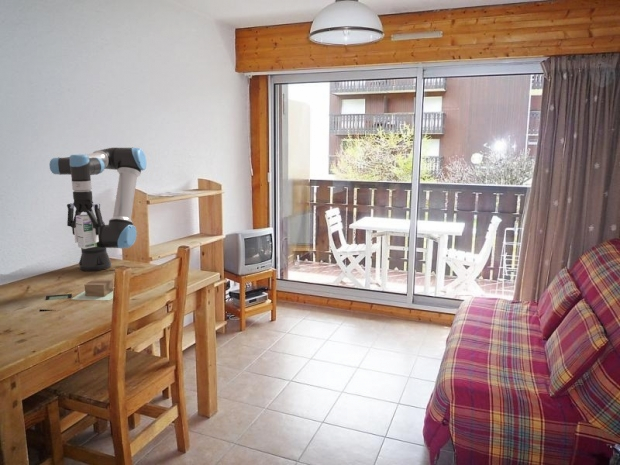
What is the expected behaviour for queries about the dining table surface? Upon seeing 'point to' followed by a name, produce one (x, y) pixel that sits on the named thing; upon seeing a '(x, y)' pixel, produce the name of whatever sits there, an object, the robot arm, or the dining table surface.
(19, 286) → the dining table surface
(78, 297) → the plate
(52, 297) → the calculator
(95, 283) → the walnut block
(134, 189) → the robot arm
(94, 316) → the dining table surface
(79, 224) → the syrup box
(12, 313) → the dining table surface
